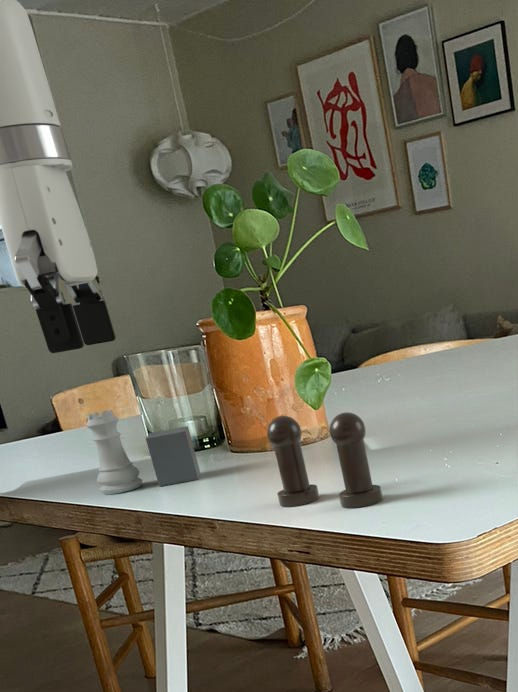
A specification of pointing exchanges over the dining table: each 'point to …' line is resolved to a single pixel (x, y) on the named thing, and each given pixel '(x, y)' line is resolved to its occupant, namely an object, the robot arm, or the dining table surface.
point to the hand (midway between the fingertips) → (84, 346)
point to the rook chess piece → (112, 455)
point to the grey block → (173, 456)
